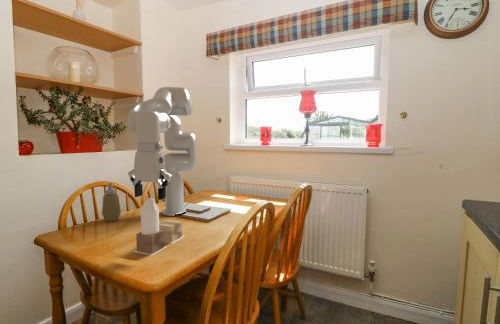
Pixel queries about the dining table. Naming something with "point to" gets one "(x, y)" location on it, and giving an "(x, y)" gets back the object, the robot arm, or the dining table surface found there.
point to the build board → (160, 249)
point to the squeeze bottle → (111, 205)
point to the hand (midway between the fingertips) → (150, 197)
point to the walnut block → (150, 242)
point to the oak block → (171, 230)
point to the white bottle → (149, 217)
